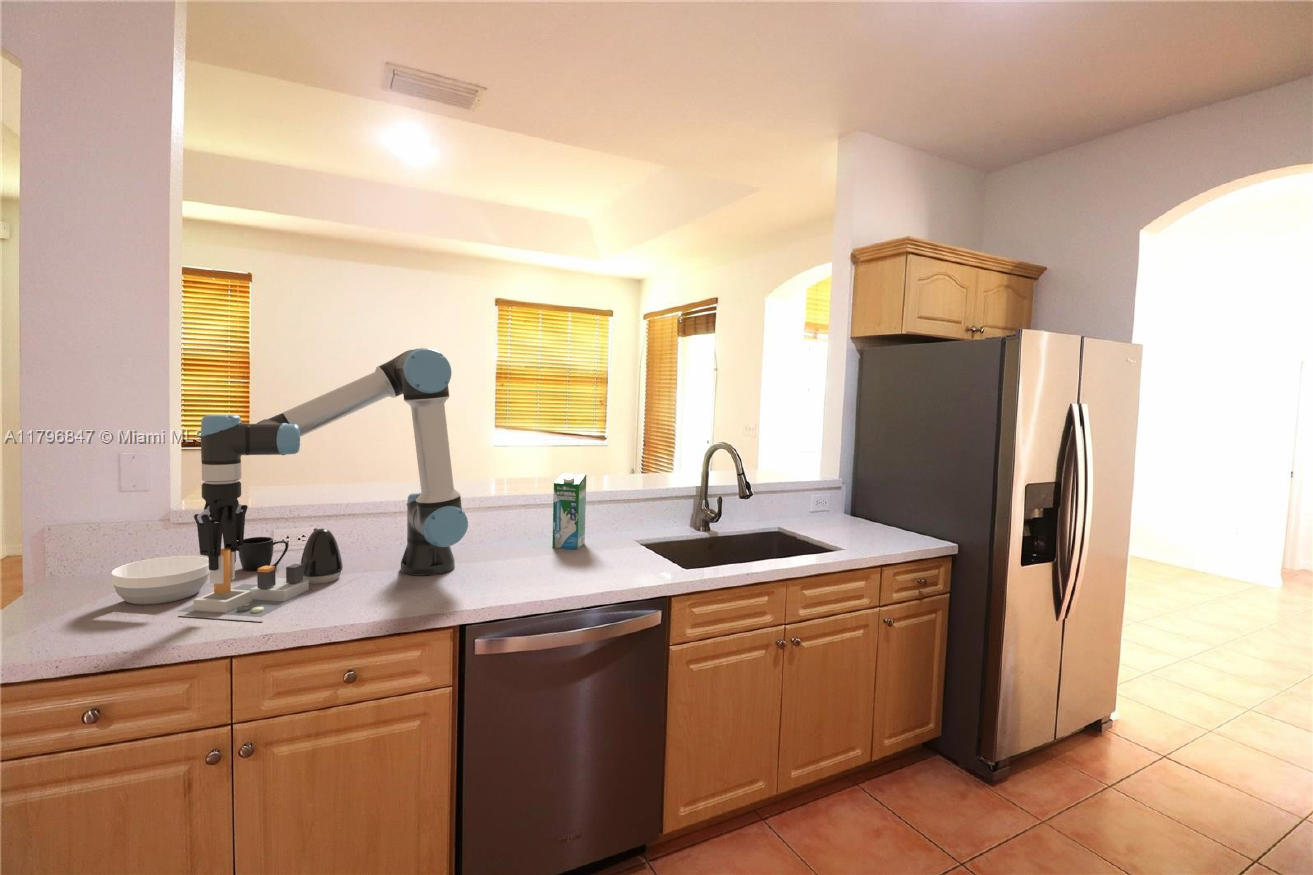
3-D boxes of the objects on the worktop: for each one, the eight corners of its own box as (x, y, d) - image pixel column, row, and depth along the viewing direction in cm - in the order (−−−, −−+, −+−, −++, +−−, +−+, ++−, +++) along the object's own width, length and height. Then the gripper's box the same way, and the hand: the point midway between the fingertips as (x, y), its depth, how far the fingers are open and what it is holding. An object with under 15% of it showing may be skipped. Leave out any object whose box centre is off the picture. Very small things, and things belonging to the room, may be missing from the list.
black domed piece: (335, 575, 174) (335, 522, 173) (348, 584, 167) (347, 529, 166) (294, 582, 167) (294, 527, 166) (306, 592, 160) (305, 534, 159)
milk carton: (552, 547, 213) (553, 476, 211) (560, 541, 222) (562, 472, 220) (577, 549, 212) (579, 477, 210) (584, 543, 220) (586, 474, 219)
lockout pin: (234, 590, 146) (233, 548, 145) (223, 594, 143) (223, 552, 142) (221, 589, 146) (220, 548, 145) (210, 593, 143) (210, 551, 142)
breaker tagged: (275, 585, 152) (275, 565, 152) (267, 588, 149) (266, 569, 149) (266, 584, 152) (265, 565, 152) (257, 588, 149) (257, 568, 149)
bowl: (158, 587, 160) (157, 554, 159) (229, 590, 160) (228, 557, 159) (89, 613, 141) (88, 575, 141) (169, 617, 141) (168, 579, 140)
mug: (284, 575, 173) (284, 542, 172) (234, 578, 169) (234, 544, 168) (291, 567, 181) (291, 535, 180) (244, 570, 177) (243, 537, 176)
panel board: (316, 594, 159) (316, 579, 158) (260, 623, 139) (260, 605, 139) (243, 589, 160) (243, 574, 160) (178, 617, 141) (177, 600, 140)
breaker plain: (303, 579, 157) (303, 564, 156) (295, 583, 154) (295, 567, 153) (294, 579, 157) (294, 563, 157) (286, 582, 154) (286, 567, 154)
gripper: (232, 476, 151) (233, 570, 152) (177, 485, 135) (179, 590, 137) (261, 477, 150) (262, 572, 152) (209, 487, 134) (210, 592, 136)
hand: (222, 580), depth 144 cm, fingers closed on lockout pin, 3 cm apart
